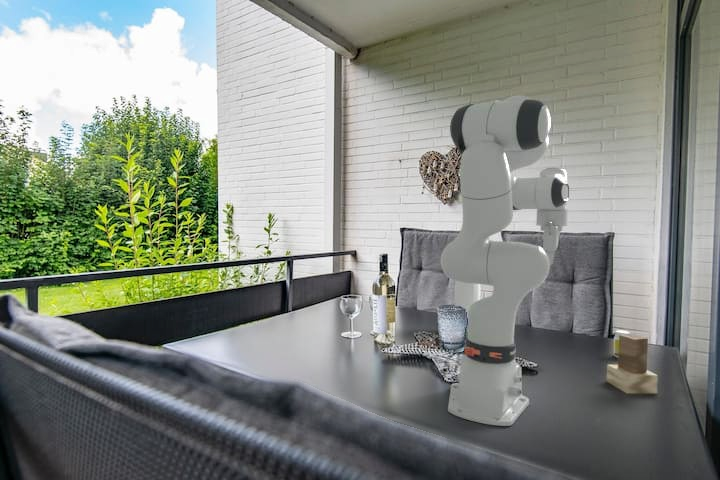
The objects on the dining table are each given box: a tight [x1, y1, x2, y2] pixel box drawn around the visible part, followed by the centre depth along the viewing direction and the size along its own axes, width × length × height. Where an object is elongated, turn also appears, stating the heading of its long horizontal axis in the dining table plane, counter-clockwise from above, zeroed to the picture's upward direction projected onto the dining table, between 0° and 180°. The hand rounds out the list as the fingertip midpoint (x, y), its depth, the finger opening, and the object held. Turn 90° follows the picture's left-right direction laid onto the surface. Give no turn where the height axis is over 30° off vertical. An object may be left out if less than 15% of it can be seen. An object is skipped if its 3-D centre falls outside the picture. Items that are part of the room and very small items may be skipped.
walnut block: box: [617, 333, 649, 374], centre depth 107 cm, size 4×4×9 cm
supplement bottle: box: [612, 329, 631, 358], centre depth 132 cm, size 5×5×8 cm
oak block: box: [606, 364, 659, 395], centre depth 107 cm, size 8×8×5 cm
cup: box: [454, 280, 482, 318], centre depth 159 cm, size 10×10×22 cm
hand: (550, 263), depth 127 cm, fingers open, 8 cm apart
